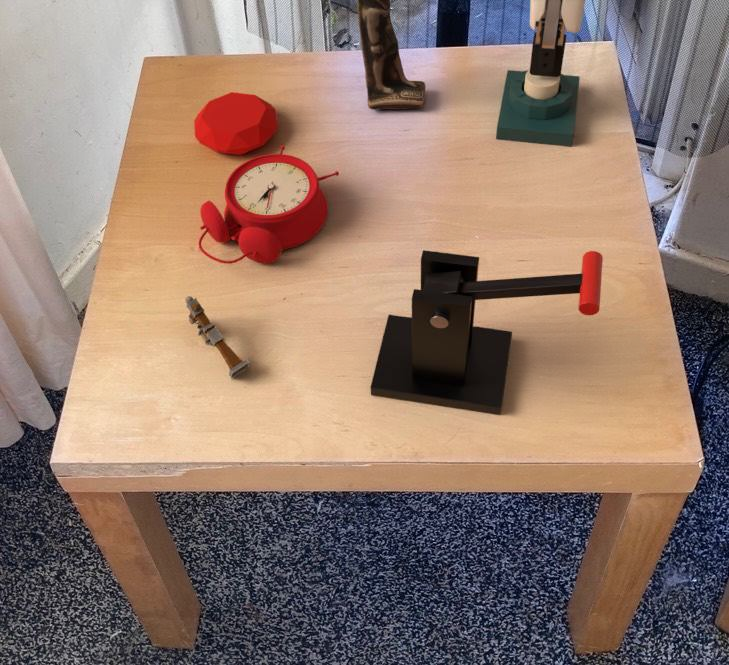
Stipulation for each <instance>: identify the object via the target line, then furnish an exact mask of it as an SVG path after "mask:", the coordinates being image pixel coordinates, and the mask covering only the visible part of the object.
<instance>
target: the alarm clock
mask: <svg viewBox="0 0 729 665" xmlns="http://www.w3.org/2000/svg"><path fill="white" fill-rule="evenodd" d="M285 149H286V147H285V145H280V152H279V153H270V154H264V155H259V156H255V157H253V158H251V159H248V160H247V161H245V162H243V163H241V164H240V165H238V166H237V167H236V168H235V169H234V170H233V171H232V172H231V173H230V175H229V176H228V178H227V180H226V183H225V188H224V199H225V202H226V205H225V208H224V213H223V215H222V213H221V212H220V210H219V208H218V207H217V206H216V205H215V204H214V203H213V201H211V200H207V201H205V202H204V203H202V205H201V207H200V218H201V221H202V224H203V225H202V226H200V227H199V228H200V230H202V231H203V230H204V229H205V230H204V232H203V233H202V234H201V236H200V237H199V239H198V242H197V243H198V249H199V250H200V251H201V253H203V255H205V256H206V257H208V258H209V259H211V260H212V261H215V262H218V263H221V264H228V265H229V264H234V263H238V262H240V261H242V260H243V259H244V258H247V259H249V260H251V261H253V262H256V263H259V264H271V263H274V262H276V261H277V260H278V259H279V257H280V256H281V255H282V251H284V250H287V249H291V248H295V247H297V246H300V245H302V244H304V243H306V242H307V241H309V240H311V239H312V238H313V237H314V236H316V235H317V234H318V233H319V231H320V230H321V229H322V228H323V227H324V225H325V223H326V222H327V221H326V220H327V218H328V213H329V204H328V200H327V196H326V195H325V193H324V191H323V190H322V189H321V187H320V182H321V181H323V180H326V179H328V178H331V177H334V176H336V177H337V176H340V173H339V172H340V171H338V170H336V171H335V172H334V173H330V174H326V175H323V176H320V177H318V174H317V173H316V172H315V170H314V168H313V167H312V166H311V165H310V164H309V163H307V162H306V161H305V160H304V159H301V158H299V157H297V156H294V155H291V154H284V153H283V152H284V151H285ZM207 233H208V234H209V235H210V237H211V238H212V239H213V240H214V241H216V242H217V243H221V244H224V243H227V242H228V241H230V240H233V241H237V242H238V247H239V250H240V252H241V253H242V254H243V255H241V256H239V257H238V258H235V259H233V260H223V259H220V258H217V257H215V256H213V255H211V254H209V253H208V252H207V251H206V250H205V249H204V248H203V246H202V242H203V240H204V238H205V236H206V234H207Z"/></svg>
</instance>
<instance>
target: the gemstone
mask: <svg viewBox="0 0 729 665" xmlns="http://www.w3.org/2000/svg"><path fill="white" fill-rule="evenodd" d="M276 110H277V109H276V108H275V107H274V106H273V105H272V104H271V103H270V102H268V101H266V100H265V99H263V98H261V97H259V96H258V95H256V94H250V93H243V92H242V93H241V92H232V91H231V92H229V93H226V94H224V95H223V94H222V95H221V96H219V97H216V98H214V99H210V100H208V102H207V103H206V104H205V105H204V106H203V108H202V109H201V110H200V111H199V112H198V113H197V115H196V117H195V119H194V121H193V123H194V126H193V127H194V137H195V140H197V141H198V143H199V144H200V145H203V147H204V146H205V147H206V148H208V149H210V150H212V151H214V152H216V153H220V154H228V155H236V156H243V155H245V154H246V153H249V152H252V151H255V150H256V149H258V148H261V147H263V146H264V145H265V144H266V143H267V142H268V141H269V140H270V139H271V138H272V136H274V135H275V133H276V132H277V129H278V128H279V123H278V117H277V111H276Z"/></svg>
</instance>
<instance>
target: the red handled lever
mask: <svg viewBox="0 0 729 665" xmlns="http://www.w3.org/2000/svg"><path fill="white" fill-rule="evenodd" d="M603 261H604V260H603V255H602V253H601V252H599V251H596V250H589V251H586V252H584V253H583V255H582V260H581V270H580V273H570V274H554V275H542V276H529V277H517V278H516V277H515V278H501V279H489V280H488V279H487V280H477V281H473V282H465V281H464V278H463V276H462V273H461V271H453V272H440V273H427V274H426V278H425V283H424V287H423V290H425V291H433V292H441V293H448V294H456V295H463V296H471V297H472V300H476V301H481V300H498V299H513V298H529V297H542V296H543V297H545V296H559V295H574V294H575V295H576V294H579V297H578V307H577V308H578V311H579V313H581V314H582V315H584V316H594V315H597V314H598V313H599V312H600V308H601V293H602V292H601V291H602V277H603V276H602V275H603Z"/></svg>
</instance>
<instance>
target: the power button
mask: <svg viewBox="0 0 729 665" xmlns="http://www.w3.org/2000/svg"><path fill="white" fill-rule="evenodd" d="M527 70H528V71H527ZM527 70H526V71H527V73H526V76H525V85H524V91H525V93H526V95H528V96H530V97H532V98H534V99H543V100H545V99H549V98H553V97H554V96H556V94H557V93H558V88H559V82H560V76H559V77H549V76H537V75H531V74H530V69H527Z"/></svg>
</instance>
